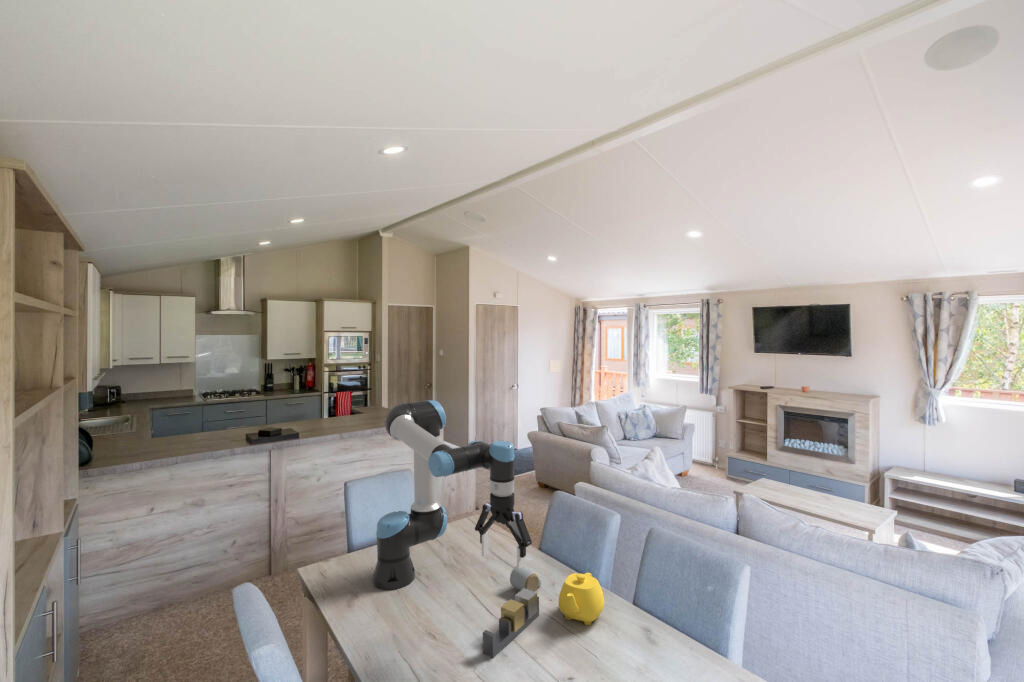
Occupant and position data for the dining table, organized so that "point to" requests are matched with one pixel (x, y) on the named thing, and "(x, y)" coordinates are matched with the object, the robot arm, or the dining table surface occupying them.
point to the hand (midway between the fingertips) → (502, 560)
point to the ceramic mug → (524, 579)
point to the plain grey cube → (528, 601)
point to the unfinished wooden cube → (513, 614)
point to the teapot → (581, 598)
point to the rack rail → (504, 634)
